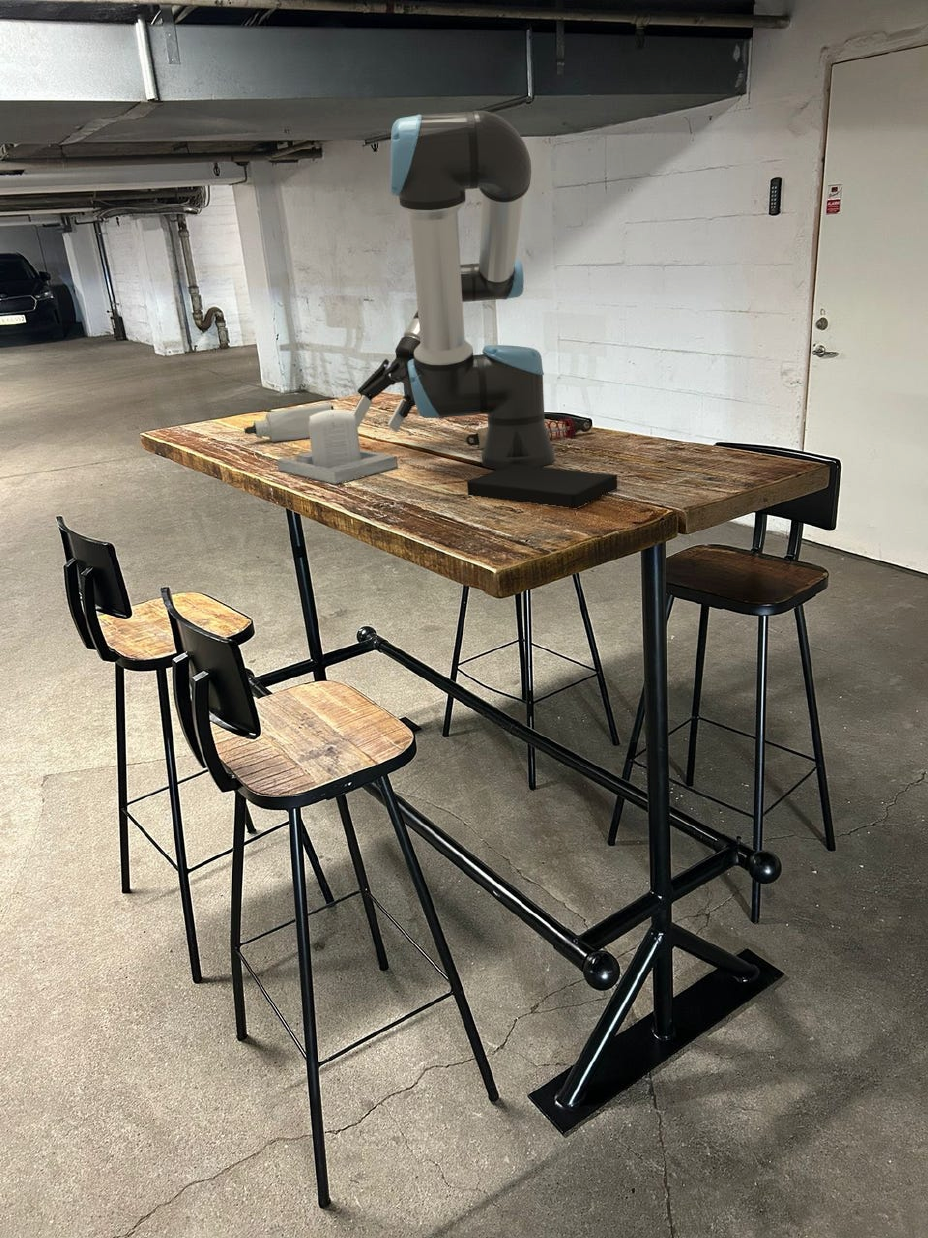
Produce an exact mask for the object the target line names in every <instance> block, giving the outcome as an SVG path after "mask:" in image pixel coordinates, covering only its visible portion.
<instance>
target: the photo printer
mask: <svg viewBox="0 0 928 1238" xmlns="http://www.w3.org/2000/svg"><path fill="white" fill-rule="evenodd" d="M353 412H354V411H351V410H344V409H334V410H327V411H322V412H319V413H316V414H314V415H312V416H310V420H309V424H308V427H309V435H310V438H309V441H310V451H312V458H313V465H315V466H320V467H324V468H331V467H335V466H339V465H342V464H346V463H350V462H354V461H358V460H361V455H360V449H361V446H360V439H359V430H358V427H357V422H356V418H355V416H354V413H353Z"/></svg>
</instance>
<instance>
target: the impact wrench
mask: <svg viewBox="0 0 928 1238" xmlns="http://www.w3.org/2000/svg"><path fill="white" fill-rule="evenodd" d="M327 410H335V408H334V405H332V403H323V404H314V405H307V406H301V407H292V408H285V409H281V410H279V409H278V410H275V411H269V412H267V413H266V414H265V419H261V420H260V421H259V420H255V421H253V425H251V426H247V427H246V428H245V427H244V428H243V429H244V430H243V431H244V434H245V435H251V434H252V435H253V434H254V435H255V436H256V438H258V439H259V438H263V437H265V438H267V437H268V438H269V440H270V441H271V442H272V443H277V442H287V441H296V440H304V439H310V435H309V427H308V424H309V420H310V416H312V415H314V414H316V413H319V412H322V411H327Z"/></svg>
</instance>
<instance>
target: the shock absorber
mask: <svg viewBox="0 0 928 1238" xmlns="http://www.w3.org/2000/svg"><path fill="white" fill-rule="evenodd" d="M560 422H562V423H561V427H560V426H559V423H560ZM552 423H554V424H555V428H552V427H551V424H552ZM545 424H547V426H548V427H547V431H548V434H549V438H550V441H552V440H553V433H555V436H556V437H555V438H556V439H558V440H560V438H561V432H562V436H563V438H565V439H567V438H573V437H575V435H576V434H577V433H578V432H580V431H582V432H583V433H587V432H589V431H590V430H591V429H592V423H591V421H589V420H588V419H585V420H582V421H581V422H578V421H574V419H573V418H572V417H571V418H564V419H558V421H556V420H553V419H552V420H551V421H549V422H548V421H546V420H545ZM487 430H488V426H487V427H480V428H477V429H476V432H475V433H473V434H468V436H466V438H465V441H466V444H467V445H468V446H471V447H473V446H474V447H475V446H477V447H478V449H479V450H483V449H484V446H485V439H486V434H487ZM470 438H472V439H473V442H471V441H470Z"/></svg>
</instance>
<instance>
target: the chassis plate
mask: <svg viewBox="0 0 928 1238" xmlns="http://www.w3.org/2000/svg"><path fill="white" fill-rule="evenodd" d="M360 455H361V460H358V461H354V462H350V463H346V464H342V465H339V466H335V467H331V468H324V467H320V466H315V465H313V458H312V450H310V451H307V452H303V453H299V454H296V455H295V456H296V458H292V457H291V458H290V457H288V456H286V457H282V458H279V459H278V458H277V459H276V464H277V469H278V472H281V473H285V474H290V475H295V476H297V477H302V478H306V479H310V480H315V481H318V482H322V481H323V482H322V483H326V482H328V483H327V484H330V483H332V484H331V485H334V484H337V485H340V484H339V483H341V484H343V483H342V482H345V481H348V480H351V479H355V478H358V477H362V476H367V475H370V476H372V475H371V474H374V475H376V474H375V473H378V474H380V473H379V472H381V473H385V472H389V471H393V470H396V469H399V465H398V464H399V463H398V456H397V455H392V454H386V453H382V452H376V451H370V450H365V449H361V448H360ZM388 470H389V471H388ZM367 477H368V476H367ZM348 482H349V481H348ZM345 483H346V482H345Z"/></svg>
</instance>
